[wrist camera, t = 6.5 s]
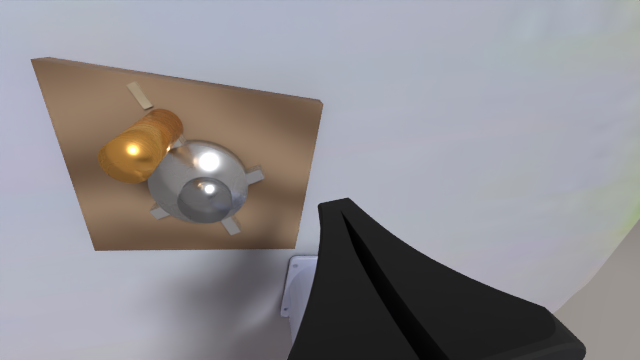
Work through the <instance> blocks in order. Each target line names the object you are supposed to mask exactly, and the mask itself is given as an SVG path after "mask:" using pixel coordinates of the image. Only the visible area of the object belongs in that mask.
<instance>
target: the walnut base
mask: <svg viewBox="0 0 640 360" xmlns="http://www.w3.org/2000/svg"><path fill="white" fill-rule="evenodd" d="M31 62H32V65H33V68H34V71H35V74H36V77H37V80H38V83H39V86H40V89H41V92H42V95H43V98H44V101H45V104H46V107H47V110H48V112H49V115H50V118H51V121H52V124H53V127H54V130H55V133H56V136H57V139H58V142H59V145H60V148H61V151H62V154H63V157H64V160H65V163H66V166H67V169H68V172H69V175H70V178H71V181H72V184H73V187H74V190H75V193H76V196H77V199H78V202H79V205H80V208H81V211H82V213H83V216H84V219H85V222H86V225H87V228H88V231H89V234H90V237H91V240H92V243H93V246H94V249H95V251H108V250H208V249H295V246H296V241H297V236H298V231H299V225H300V220H301V215H302V210H303V205H304V200H305V195H306V190H307V185H308V180H309V175H310V169H311V164H312V159H313V154H314V149H315V144H316V139H317V134H318V129H319V124H320V119H321V113H322V108H323V103H322V102H321V101H320V100H317V99H310V98H304V97H298V96H291V95H285V94H279V93H272V92H266V91H260V90H253V89H247V88H241V87H234V86H228V85H222V84H215V83H209V82H203V81H197V80H190V79H184V78H178V77H171V76H165V75H159V74H152V73H146V72H140V71H133V70H127V69H121V68H114V67H108V66H102V65H95V64H89V63H83V62H76V61H70V60H64V59H57V58H51V57H45V58H37V59H31ZM155 109H166V110H169V111H171V112H173V113H174V114H176V115H177V116H178V117H179V119H180V120H181V122H182V125H183V132H182V135H183V136H184V138H185V139H186V140H206V141H211V142H214V143H217V144H220V145H222V146H224V147H226V148H228V149H229V150H230V151H232V152H233V153H234V154H235V155H237V156H238V158H239V159H240V160H241V161H242V163H243V164H244V166H245V168H246V170H247V169H250V168H252V167H255V166H257V165H260V166H261V167H262V169H263V171H264V173H265V179H262V180H260V181H257V182H255V183H252V184H249V185H248V193H247V197H246V200H245V202H244V204H243V206H242V207H241V208H240V209H239V210H238V211H237V212H236V213H235V214H234V216H235V217H236V219H237V220H238V221H239V223H240V224H241V232H239V233H236V234H233V235H230V233H229V232H228V231H227V229H226V228H225V227H224V225H223V224H222V222H221V221H219V222H214V223H192V222H187V221H184V220H181V219H178V218H176V217H174V216H172V215H168V216H165V217H163V218H160V219H156V218H155V217H154V216H153V215H152V214H151V213H150V212H149V211H150V209H151V208H152V206H153V205H155V204H157V203H156V202H155V201H154V199H153V197H152V196H151V193H150V191H149V187H148V179H146V180H145V181H142V182H139V183H125V182H121V181H118V180H116V179H114V178H112V177H110V176H109V175H108V174H107V173H105V172H104V170H103V169H102V168H101V166H100V164H99V162H98V153H99V151H100V149H101V148H102V147H103V146H104V145H106V144H107V143H108V142H110V141H111V140H112V139H114V138H115V137H116V136H118V135H119V134H120V133H122V132H123V131H125V130H126V129H127V128H129V127H130V126H131V125H133V124H134V123H135V122H137V121H138V120H139V119H141V118H142V117H144V116H145V115H146V114H148V113H149V112H150V111H152V110H155Z"/></svg>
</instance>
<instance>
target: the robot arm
mask: <svg viewBox="0 0 640 360" xmlns="http://www.w3.org/2000/svg"><path fill="white" fill-rule="evenodd" d="M318 212H319V220H320V244H319V251H318V256H294V257H292V258H291V259H290V264H289V269H288V274H287V279H286V285H285V290H284V295H283V301H282V306H281V311H280V314H281V316H282V317H289V318H290V328H291V338H292V349H291V351H290V354H289V356H288V359H287V360H583V358H584V357H585V354H586V348H585V346H584V344H583V343H582V342H581V341H580V340H579V339H577V337H576V336H574V334H573V333H572V332H571V331H570V330H568V329H567V328H566V327H565V326H564V325H563V324H562V323H561V322H560V321H559V320H558V319H557V318H556V317H555V316H554V315H553V314H552V313H551V312H549V311H548V310H547V309H546V308H545V307H542V306H540V305H537V304H534V303H532V302H529V301H526V300H524V299H521V298H518V297H516V296H513V295H510V294H507V293H505V292H502V291H500V290H497V289H495V288H492V287H490V286H488V285H485V284H483V283H481V282H478V281H476V280H474V279H471V278H469V277H467V276H465V275H463V274H461V273H458V272H456V271H455V270H453V269H451V268H449V267H447V266H445V265H443V264H441V263H439V262H437V261H435V260H433V259H431V258H429V257H428V256H426V255H424V254H422V253H421V252H419V251H417V250H416V249H414V248H412V247H411V246H409V245H408V244H406V243H405V242H403V241H402V240H400V239H399V238H398V237H396V236H395V235H393V234H392V233H390V232H389V231H388V230H386V229H385V228H384V227H383V226H381V225H380V224H379V223H378V222H376V221H375V220H374V219H373V218H371V217H370V216H369V215H368V214H367V213H365V212H364V211H363V210H362V209H361V208H360V207H359V206H357V205H356V204H355V203H354V202H353V201H352V200H351V199H349V198H344V199H339V200H334V201H329V202H324V203H320V204H319V205H318ZM294 264H295V265H294Z"/></svg>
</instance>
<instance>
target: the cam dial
mask: <svg viewBox="0 0 640 360" xmlns="http://www.w3.org/2000/svg"><path fill="white" fill-rule="evenodd" d="M182 132H183V125H182V122H181V120H180V119H179V117H178V116H177V115H176V114H174V113H173V112H171V111H169V110H166V109H155V110H152V111H150V112H149V113H148V114H146V115H145V116H144V117H142V118H141V119H139V120H138V121H137V122H135V123H134V124H133V125H131V126H130V127H129V128H127V129H126V130H125V131H123V132H122V133H120V134H119V135H118V136H116V137H115V138H114V139H112V140H111V141H110V142H108V143H107V144H106V145H104V146H103V147H102V148H101V149H100V151H99V153H98V162H99V164H100V166H101V168H102V169H103V170H104V172H105V173H107V174H108V175H109V176H110V177H112V178H114V179H116V180H118V181H121V182H125V183H139V182H142V181H145V180H146V179H148V187H149V191H150V193H151V196H152V197H153V199H154V201H155V202H156V203H157V204H155V205H153V206H152V208H151V209H150V211H149V212H150V213H151V214H152V215H153V216H154V217H155V218H156V219H160V218H163V217H165V216H168V215H172V216H174V217H176V218H178V219H181V220H184V221H187V222H192V223H214V222H219V221H221V222H222V224H223V225H224V227H225V228H226V229H227V231H228V232H229V233H230V235H233V234H236V233H239V232H241V224H240V223H239V221H238V220H237V219H236V217H235V216H234V214H235V213H236V212H237V211H238V210H239V209H240V208H241V207H242V206H243V204H244V202H245V200H246V197H247V193H248V185H249V184H252V183H255V182H257V181H260V180H262V179H265V173H264V171H263V169H262V167H261V166H260V165H257V166H255V167H252V168H250V169H247V170H246V168H245V166H244V164H243V163H242V161H241V160H240V159H239V158H238V156H237V155H235V154H234V153H233V152H232V151H230V150H229V149H228V148H226V147H224V146H222V145H220V144H217V143H214V142H211V141H206V140H186V139H185V138H184V136H183V135H182Z"/></svg>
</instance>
